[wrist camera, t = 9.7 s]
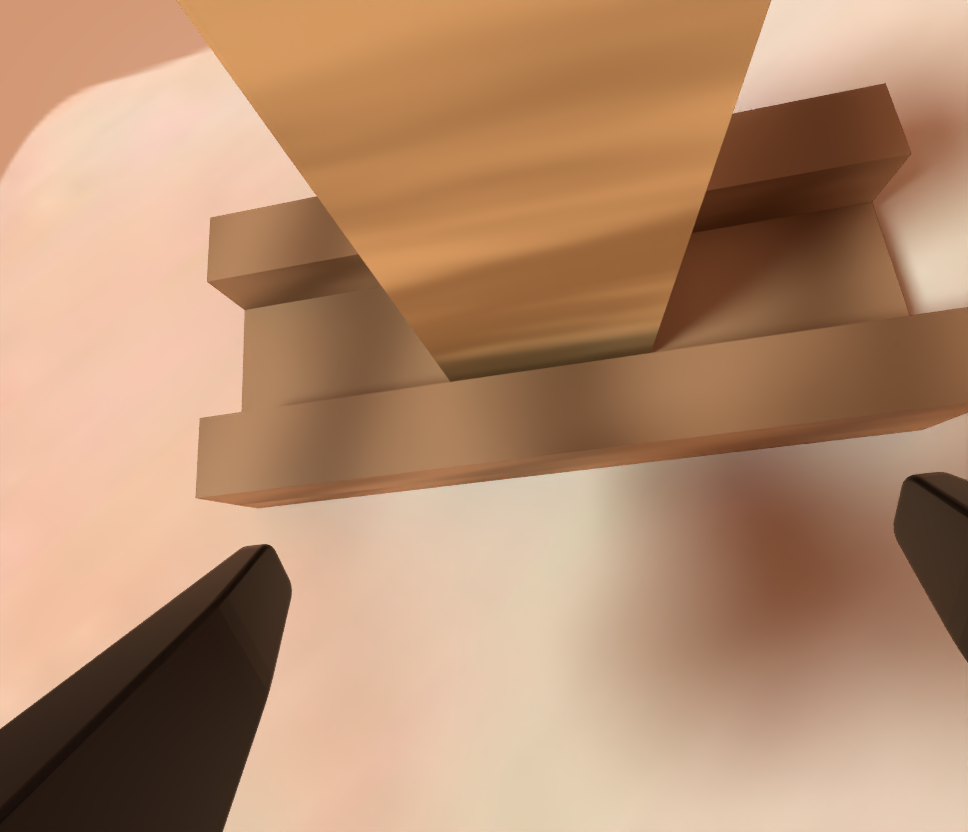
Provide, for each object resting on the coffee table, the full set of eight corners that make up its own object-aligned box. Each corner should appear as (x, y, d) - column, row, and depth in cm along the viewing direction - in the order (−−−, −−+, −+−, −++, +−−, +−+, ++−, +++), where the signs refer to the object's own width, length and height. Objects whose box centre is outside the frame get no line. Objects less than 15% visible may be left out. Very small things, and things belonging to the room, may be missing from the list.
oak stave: (649, 354, 16) (895, -364, 4) (450, 382, 17) (89, -122, 4) (633, 264, 17) (787, -578, 4) (444, 295, 18) (123, -339, 5)
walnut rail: (257, 508, 18) (195, 498, 15) (262, 265, 20) (210, 217, 17) (922, 430, 15) (1001, 399, 12) (835, 160, 18) (885, 83, 15)
